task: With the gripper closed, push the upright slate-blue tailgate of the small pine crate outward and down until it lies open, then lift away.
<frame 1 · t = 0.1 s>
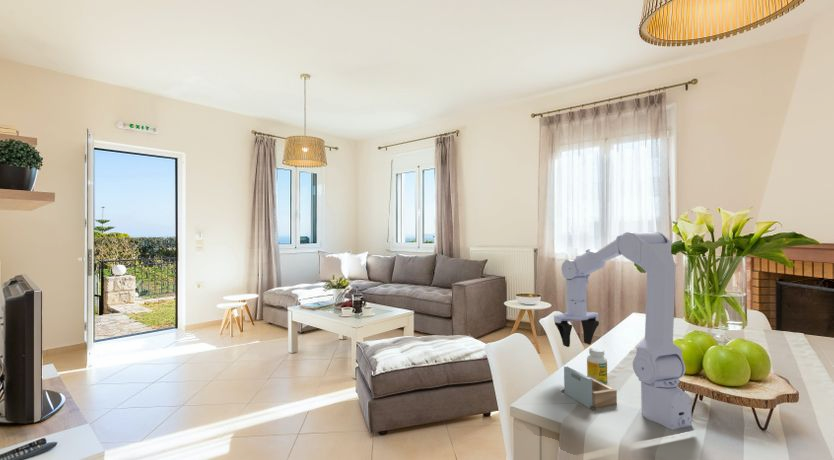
hand: (577, 344, 116), 10 cm above the table, tool pointing down, fingers open, 7 cm apart
crate: (590, 401, 99), on the table
tailgate: (577, 386, 98), point 5 cm above the table, hinge at 0.0°
supplement bottle: (597, 383, 112), on the table
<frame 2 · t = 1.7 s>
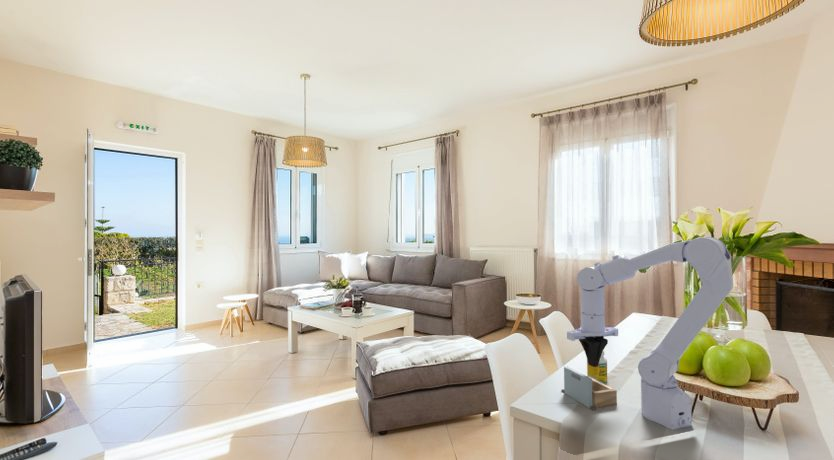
hand: (593, 365, 100), 9 cm above the table, tool pointing down, fingers closed
nothing on the table moved.
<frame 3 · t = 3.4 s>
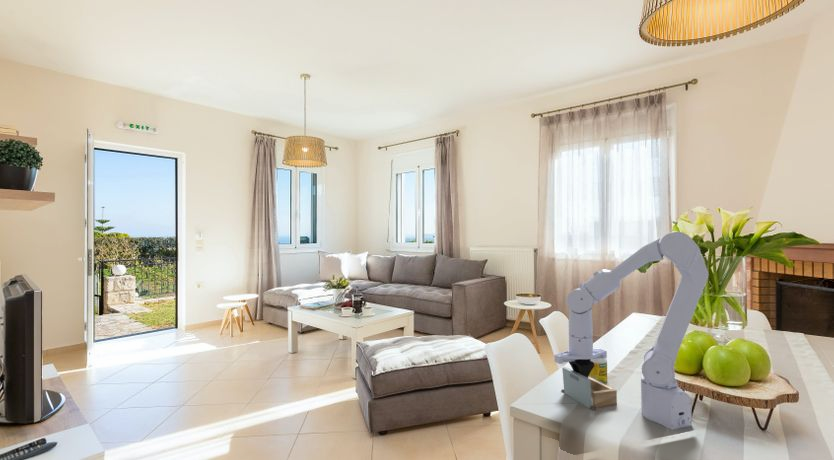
hand: (581, 388, 99), 4 cm above the table, tool pointing down, fingers closed, pressing on tailgate
tailgate: (576, 386, 98), point 4 cm above the table, hinge at 4.5°, touching gripper
everything else where it was.
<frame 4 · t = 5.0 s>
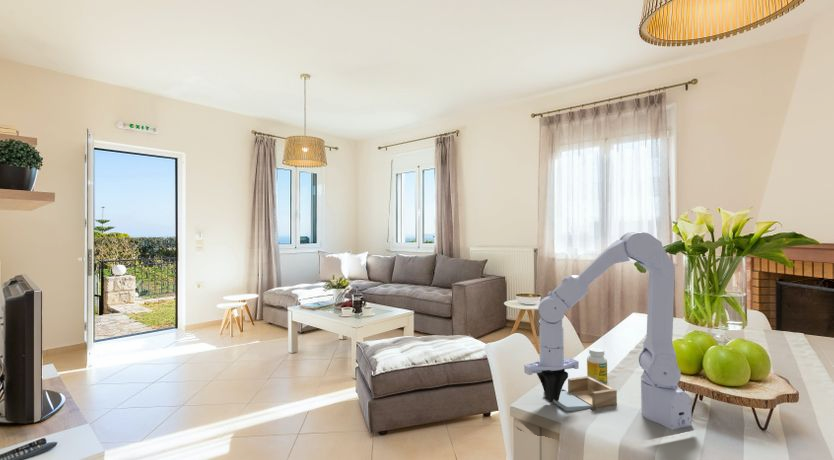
hand: (552, 399, 96), 2 cm above the table, tool pointing down, fingers closed
tailgate: (566, 400, 97), point 1 cm above the table, hinge at 84.6°, touching gripper
everything else where it was.
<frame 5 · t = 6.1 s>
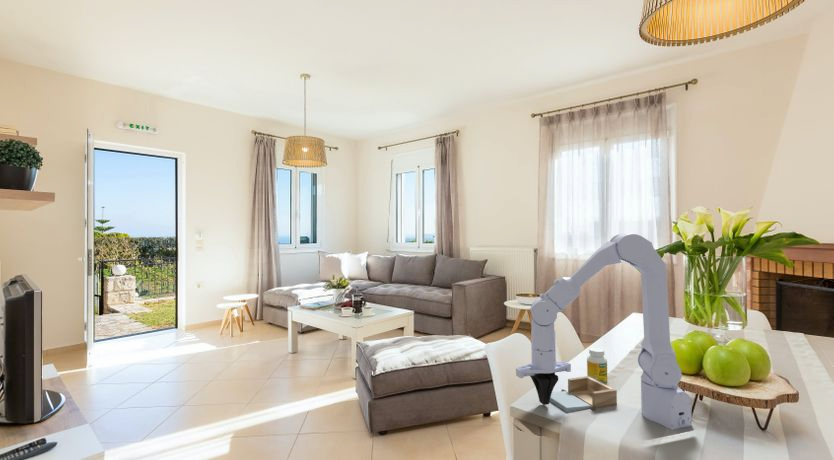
hand: (544, 402, 95), 2 cm above the table, tool pointing down, fingers closed
tailgate: (566, 401, 97), point 1 cm above the table, hinge at 86.3°
everything else where it was.
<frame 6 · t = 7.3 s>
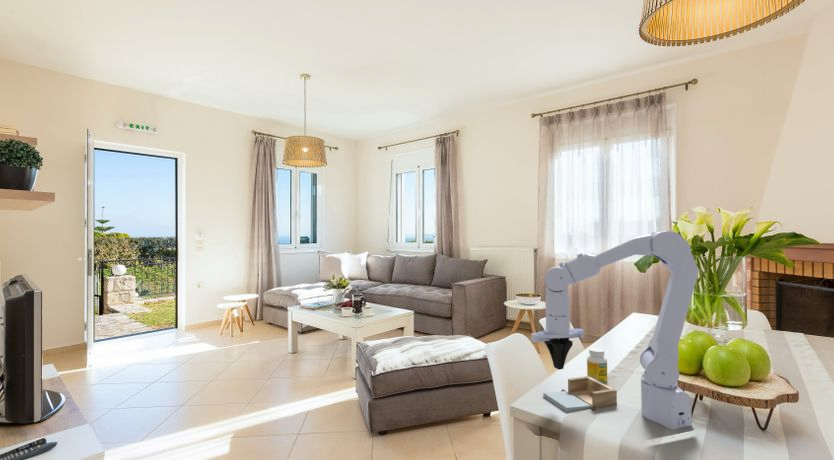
hand: (558, 368, 98), 10 cm above the table, tool pointing down, fingers closed
nothing on the table moved.
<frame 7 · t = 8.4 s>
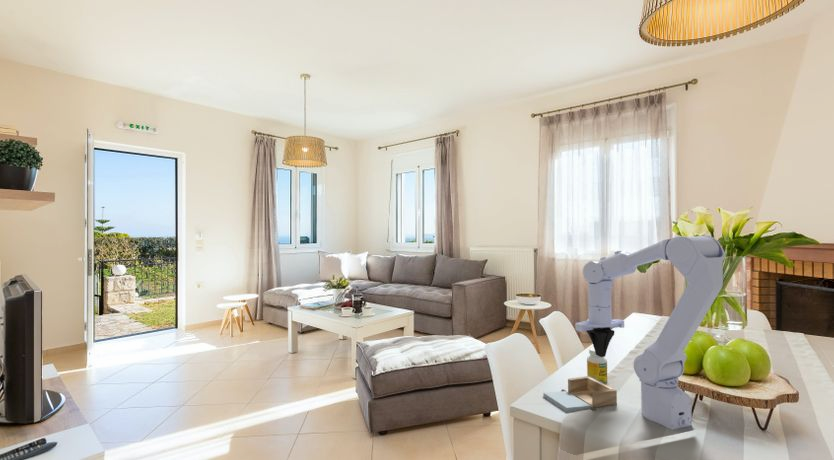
hand: (600, 355, 104), 10 cm above the table, tool pointing down, fingers closed
nothing on the table moved.
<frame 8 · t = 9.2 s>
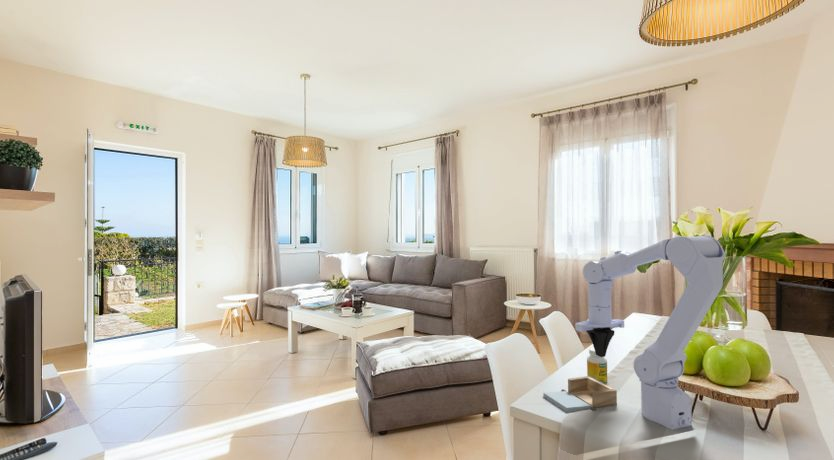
hand: (600, 355, 104), 10 cm above the table, tool pointing down, fingers closed
nothing on the table moved.
at the end: tailgate at +86° (first picture: +0°); supplement bottle moved 0.2 cm from its start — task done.
